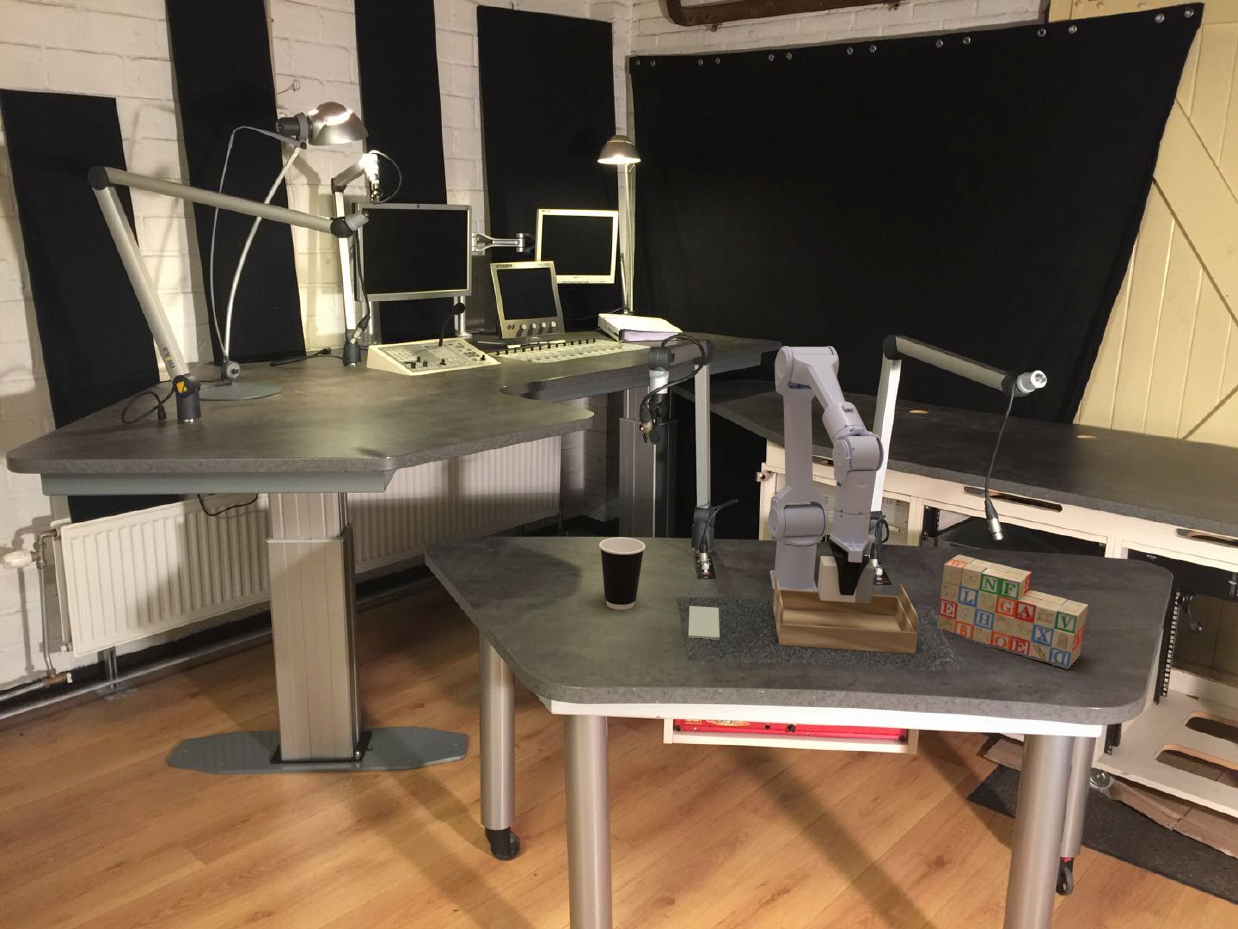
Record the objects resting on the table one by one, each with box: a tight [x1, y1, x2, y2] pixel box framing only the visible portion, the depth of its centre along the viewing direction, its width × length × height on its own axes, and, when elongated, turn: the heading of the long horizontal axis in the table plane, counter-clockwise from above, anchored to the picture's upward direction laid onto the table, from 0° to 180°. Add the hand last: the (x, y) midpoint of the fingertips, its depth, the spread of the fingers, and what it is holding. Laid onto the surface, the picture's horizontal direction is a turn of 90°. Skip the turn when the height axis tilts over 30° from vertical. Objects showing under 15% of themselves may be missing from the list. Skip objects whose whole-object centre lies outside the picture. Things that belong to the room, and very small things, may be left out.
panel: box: [687, 605, 721, 641], centre depth 166 cm, size 12×12×1 cm
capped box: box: [817, 555, 875, 603], centre depth 162 cm, size 4×8×6 cm, turn 85°
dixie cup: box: [598, 536, 646, 611], centre depth 171 cm, size 8×8×11 cm
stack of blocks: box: [936, 554, 1089, 667], centre depth 161 cm, size 21×6×12 cm, turn 50°
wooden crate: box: [772, 576, 919, 655], centre depth 164 cm, size 15×21×6 cm
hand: (844, 588), depth 162 cm, fingers closed on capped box, 4 cm apart
